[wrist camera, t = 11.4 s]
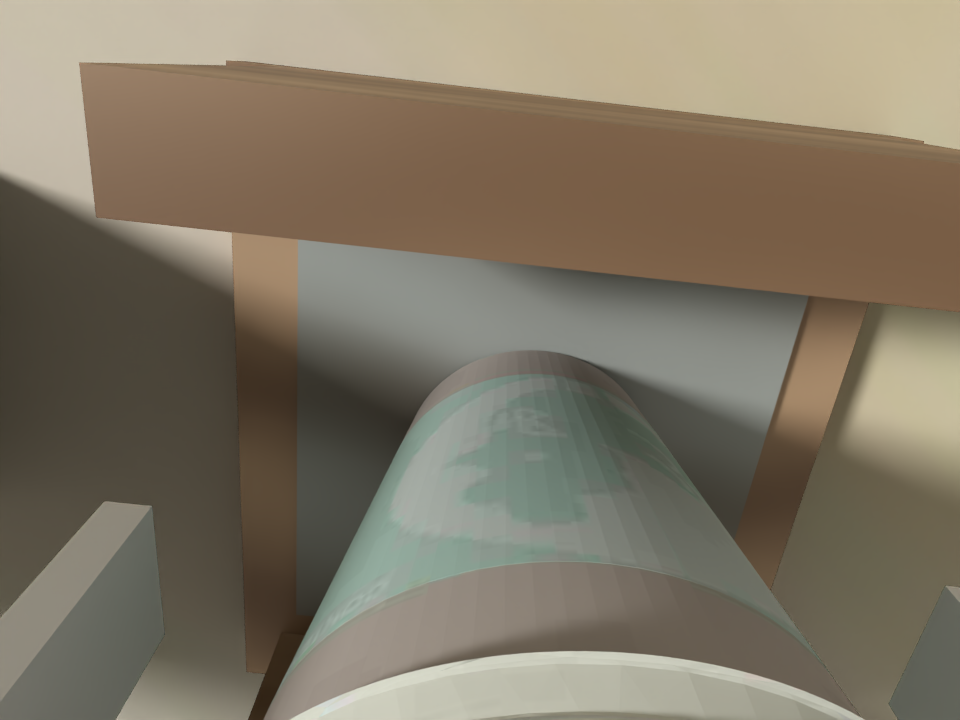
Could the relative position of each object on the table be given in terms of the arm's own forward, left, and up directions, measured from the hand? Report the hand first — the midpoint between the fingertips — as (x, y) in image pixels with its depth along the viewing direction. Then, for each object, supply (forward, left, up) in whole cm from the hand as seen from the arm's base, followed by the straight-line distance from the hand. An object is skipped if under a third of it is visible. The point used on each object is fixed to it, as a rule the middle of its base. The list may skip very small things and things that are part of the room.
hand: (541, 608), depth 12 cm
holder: (0, 0, -7) cm, 7 cm away
